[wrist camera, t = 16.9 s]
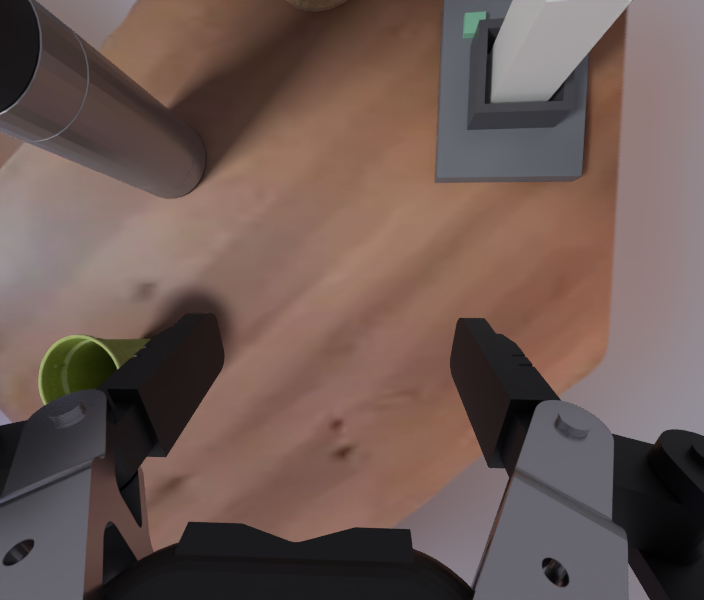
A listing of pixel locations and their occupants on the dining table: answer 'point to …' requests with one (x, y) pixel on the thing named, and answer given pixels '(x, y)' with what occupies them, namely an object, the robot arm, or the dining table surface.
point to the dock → (500, 110)
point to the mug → (316, 4)
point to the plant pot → (82, 363)
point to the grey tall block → (544, 46)
